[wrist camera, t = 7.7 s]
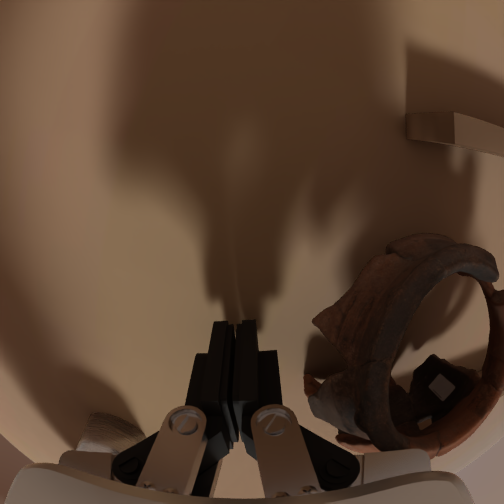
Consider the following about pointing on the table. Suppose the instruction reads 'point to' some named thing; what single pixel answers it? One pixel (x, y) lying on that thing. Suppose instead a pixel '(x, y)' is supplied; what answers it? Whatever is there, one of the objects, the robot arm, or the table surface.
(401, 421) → the pottery mug
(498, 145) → the display frame
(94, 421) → the grey tin
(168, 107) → the table surface
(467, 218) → the table surface
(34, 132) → the table surface
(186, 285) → the table surface
